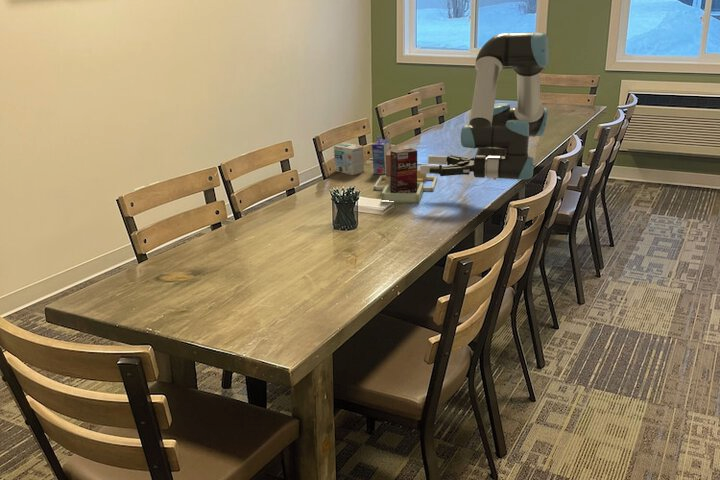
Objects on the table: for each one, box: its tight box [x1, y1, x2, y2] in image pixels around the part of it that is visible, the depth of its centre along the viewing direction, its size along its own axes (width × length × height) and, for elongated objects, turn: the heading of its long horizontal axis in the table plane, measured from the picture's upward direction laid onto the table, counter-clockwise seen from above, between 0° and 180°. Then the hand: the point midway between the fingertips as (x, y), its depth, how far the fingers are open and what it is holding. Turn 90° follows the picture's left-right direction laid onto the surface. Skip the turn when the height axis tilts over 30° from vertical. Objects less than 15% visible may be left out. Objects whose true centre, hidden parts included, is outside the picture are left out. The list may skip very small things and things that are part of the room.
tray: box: [380, 182, 424, 204], centre depth 242 cm, size 13×15×3 cm
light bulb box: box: [333, 142, 365, 176], centre depth 277 cm, size 11×7×11 cm, turn 47°
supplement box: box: [390, 148, 418, 193], centre depth 239 cm, size 9×5×16 cm, turn 117°
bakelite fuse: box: [385, 150, 392, 177], centre depth 256 cm, size 4×6×12 cm, turn 169°
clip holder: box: [373, 169, 438, 192], centre depth 257 cm, size 22×16×4 cm
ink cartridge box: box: [371, 134, 392, 175], centre depth 275 cm, size 10×6×14 cm, turn 161°
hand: (424, 164), depth 236 cm, fingers open, 13 cm apart
